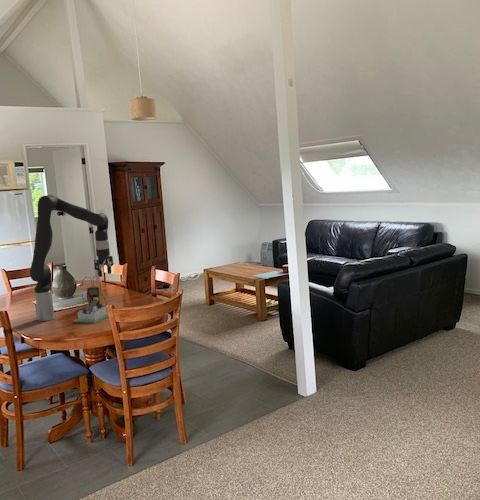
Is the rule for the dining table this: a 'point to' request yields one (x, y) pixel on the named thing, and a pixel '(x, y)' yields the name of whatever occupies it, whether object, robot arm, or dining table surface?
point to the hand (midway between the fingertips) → (104, 275)
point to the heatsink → (92, 315)
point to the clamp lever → (92, 304)
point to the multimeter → (93, 293)
